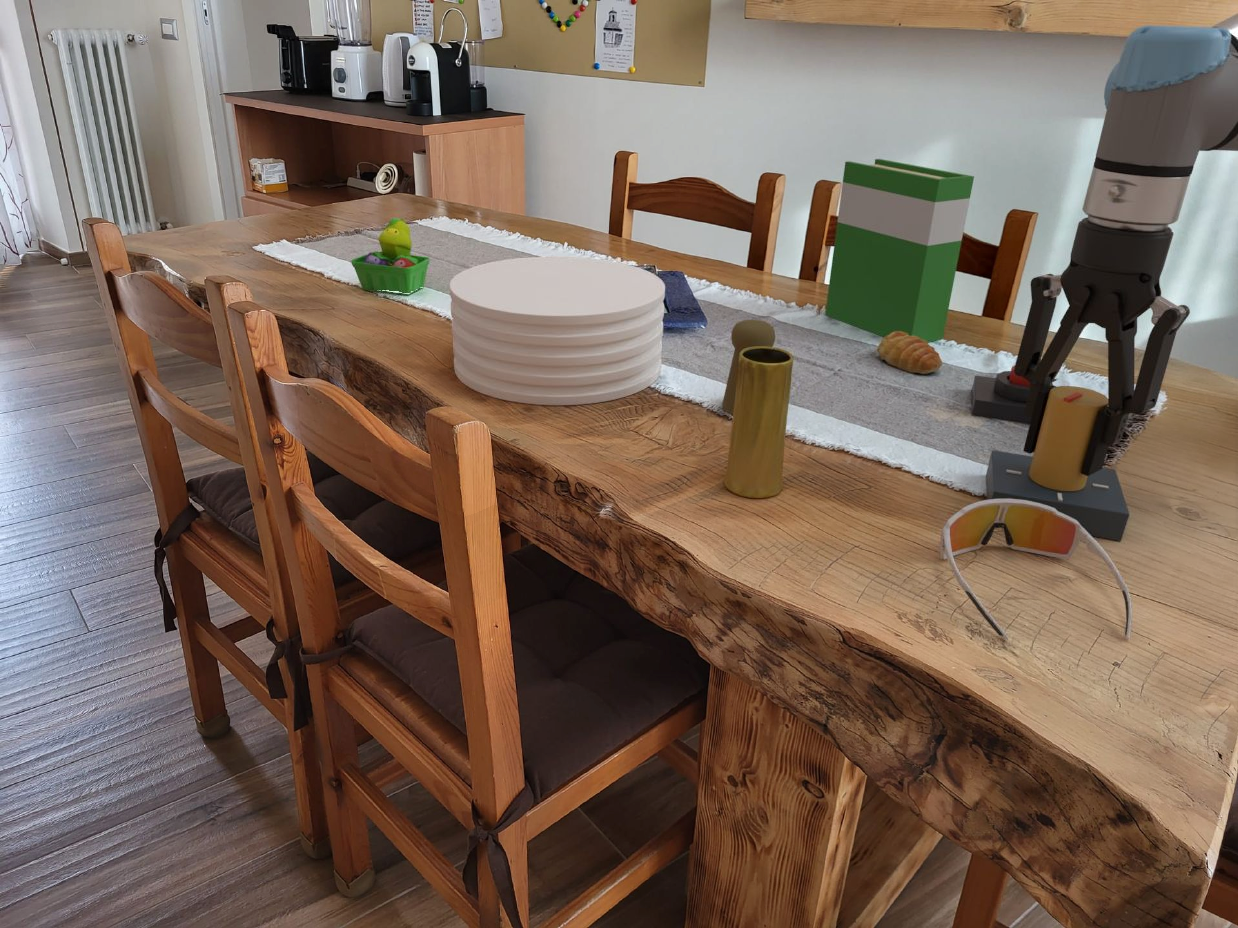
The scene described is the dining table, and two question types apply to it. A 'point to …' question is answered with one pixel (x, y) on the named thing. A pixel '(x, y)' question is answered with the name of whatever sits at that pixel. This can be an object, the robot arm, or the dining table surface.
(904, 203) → the green cereal box
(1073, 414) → the yellow round cylinder
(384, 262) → the fruit basket
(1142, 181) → the robot arm
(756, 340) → the pepper mill
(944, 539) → the sunglasses
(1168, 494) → the dining table surface
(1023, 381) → the button
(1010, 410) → the button box
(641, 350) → the plate stack
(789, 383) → the vase
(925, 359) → the pastry
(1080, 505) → the knob panel
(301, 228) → the dining table surface
